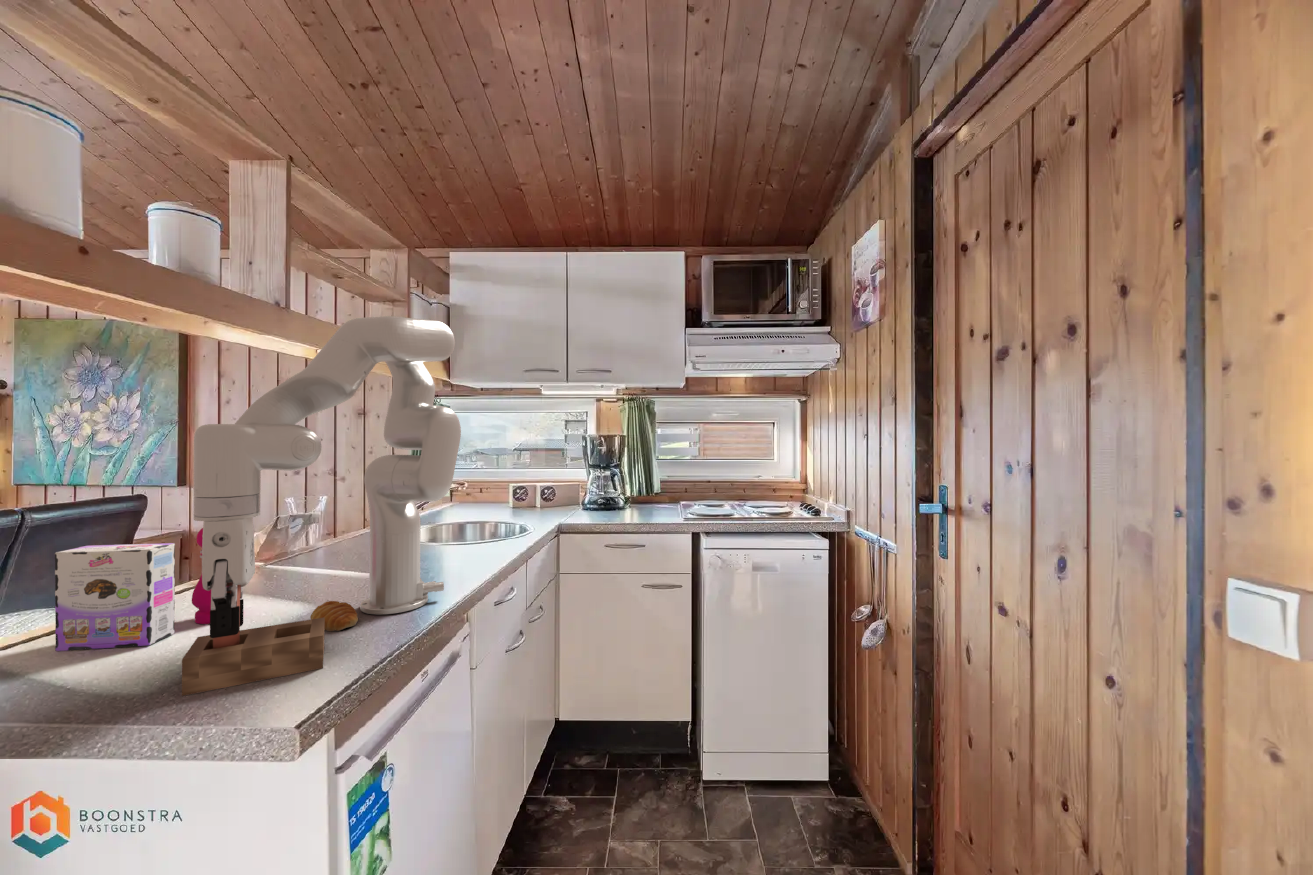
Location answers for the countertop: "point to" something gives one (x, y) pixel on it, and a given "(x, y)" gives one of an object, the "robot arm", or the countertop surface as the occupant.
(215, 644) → the peg
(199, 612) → the pepper mill
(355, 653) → the countertop surface
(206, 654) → the hole block
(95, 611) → the candy box
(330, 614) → the pastry
